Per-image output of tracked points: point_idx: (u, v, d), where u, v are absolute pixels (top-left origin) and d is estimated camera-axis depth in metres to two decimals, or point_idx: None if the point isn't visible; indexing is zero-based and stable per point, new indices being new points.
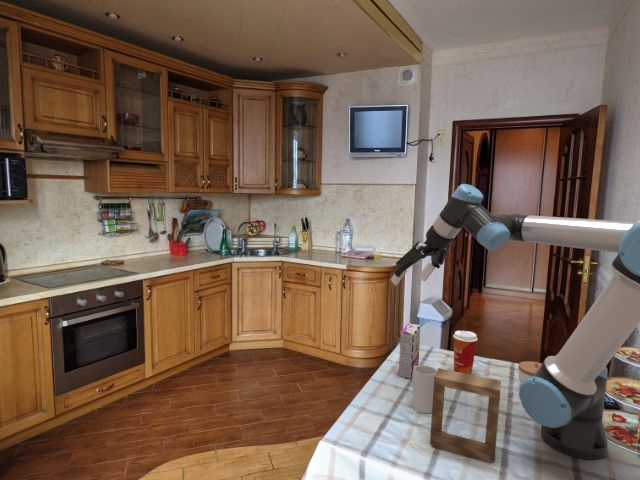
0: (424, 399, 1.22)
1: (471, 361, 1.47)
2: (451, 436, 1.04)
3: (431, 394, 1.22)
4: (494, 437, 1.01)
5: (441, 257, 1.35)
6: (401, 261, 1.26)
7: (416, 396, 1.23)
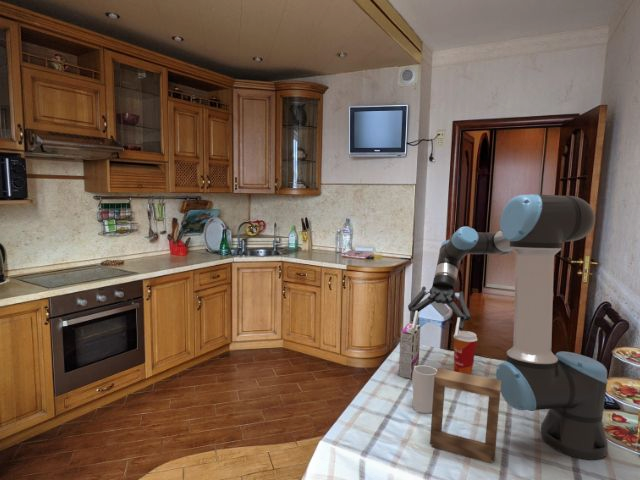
0: (424, 399, 1.22)
1: (471, 361, 1.47)
2: (451, 436, 1.04)
3: (431, 394, 1.22)
4: (494, 437, 1.01)
5: (463, 308, 1.37)
6: None
7: (416, 396, 1.23)
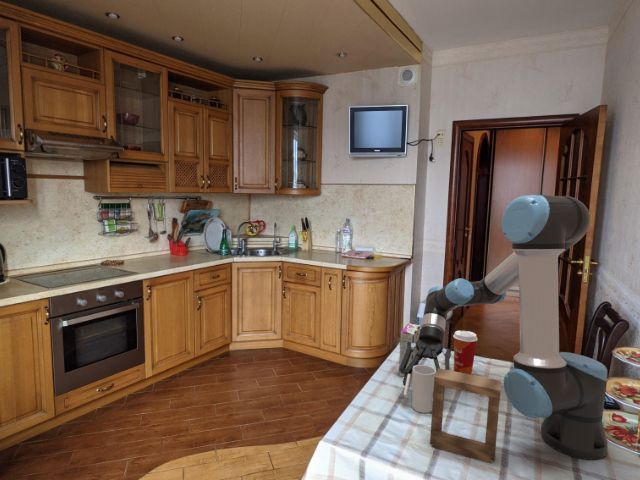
0: (423, 399, 1.22)
1: (471, 361, 1.47)
2: (451, 436, 1.04)
3: (430, 394, 1.22)
4: (494, 437, 1.01)
5: (445, 367, 1.27)
6: None
7: (415, 396, 1.24)
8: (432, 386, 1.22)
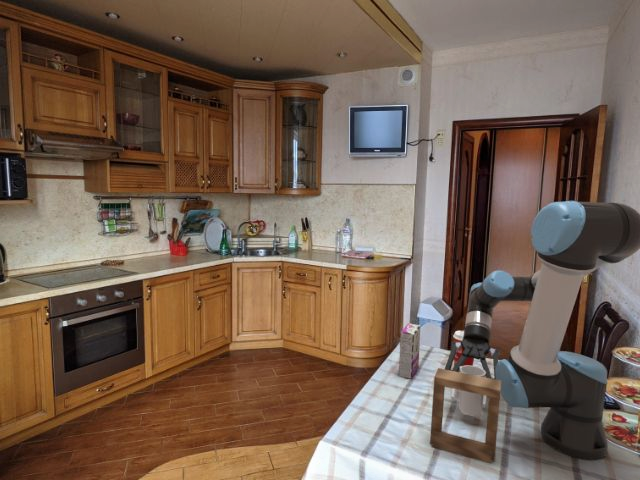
0: (472, 401, 1.16)
1: (471, 361, 1.47)
2: (451, 436, 1.04)
3: (480, 396, 1.16)
4: (494, 437, 1.01)
5: (494, 368, 1.20)
6: None
7: (463, 398, 1.17)
8: None
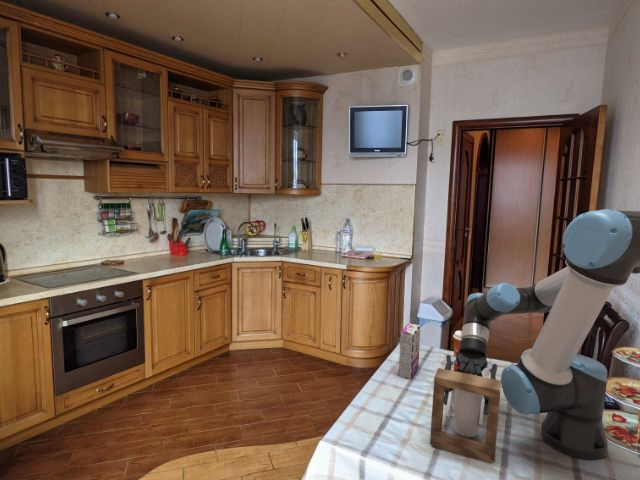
0: (468, 421, 1.08)
1: None
2: (451, 436, 1.04)
3: (476, 415, 1.08)
4: (494, 437, 1.01)
5: None
6: None
7: (458, 418, 1.10)
8: (478, 407, 1.08)
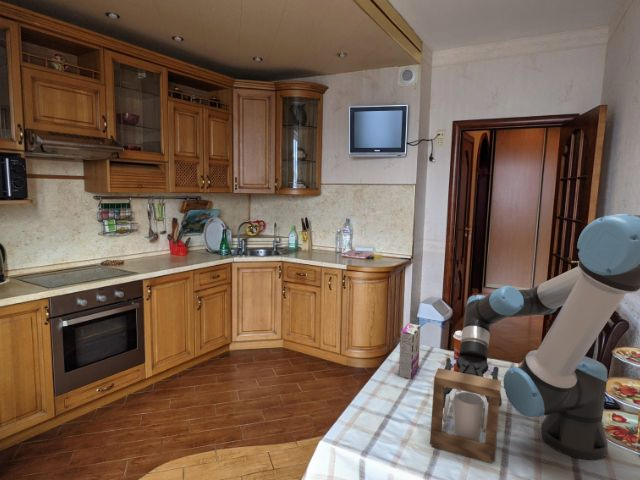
0: (468, 432, 1.06)
1: None
2: (451, 436, 1.04)
3: (476, 426, 1.06)
4: (494, 437, 1.01)
5: None
6: None
7: (458, 428, 1.07)
8: (479, 418, 1.06)
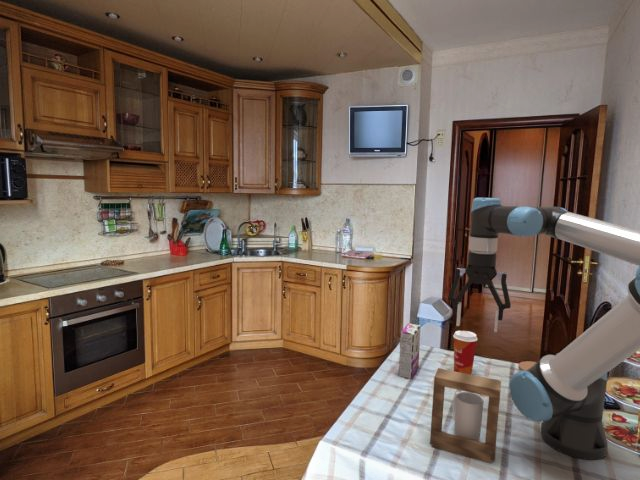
0: (468, 432, 1.06)
1: (471, 361, 1.47)
2: (451, 436, 1.04)
3: (476, 426, 1.06)
4: (494, 437, 1.01)
5: None
6: None
7: (458, 428, 1.07)
8: (479, 418, 1.06)
